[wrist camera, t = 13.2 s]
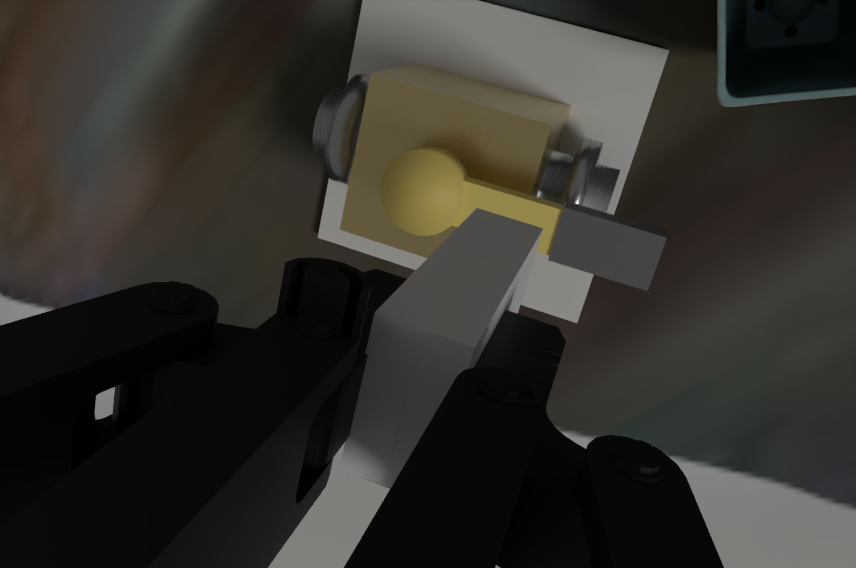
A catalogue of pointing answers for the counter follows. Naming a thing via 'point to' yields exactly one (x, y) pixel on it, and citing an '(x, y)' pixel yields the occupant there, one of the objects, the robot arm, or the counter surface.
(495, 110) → the valve
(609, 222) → the lever
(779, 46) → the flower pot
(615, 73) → the mat
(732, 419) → the counter surface
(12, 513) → the robot arm
